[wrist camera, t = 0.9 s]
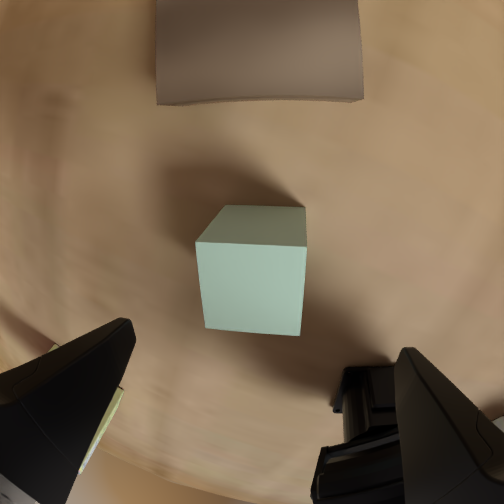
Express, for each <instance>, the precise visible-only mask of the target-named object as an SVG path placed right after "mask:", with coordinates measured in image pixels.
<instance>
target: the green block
mask: <svg viewBox="0 0 504 504" xmlns="http://www.w3.org/2000/svg"><path fill="white" fill-rule="evenodd" d="M195 245H196V255H197V264H198V273H199V282H200V290H201V298H202V306H203V313H204V321H205V328H210V329H219V330H229V331H239V332H250V333H263V334H276V335H292V336H300V328H301V317H302V306H303V294H304V282H305V268H306V253H307V234H306V209H305V207H286V206H254V205H225V206H224V207H223V208H222V210H221V211H220V212H219V213H218V214H217V216H216V217H215V218H214V219H213V221H212V222H211V223H210V224H209V225H208V227H207V228H206V229H205V230H204V232H203V233H202V234H201V235H200V237H199V238H198V239H197V240H196V242H195Z"/></svg>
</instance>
